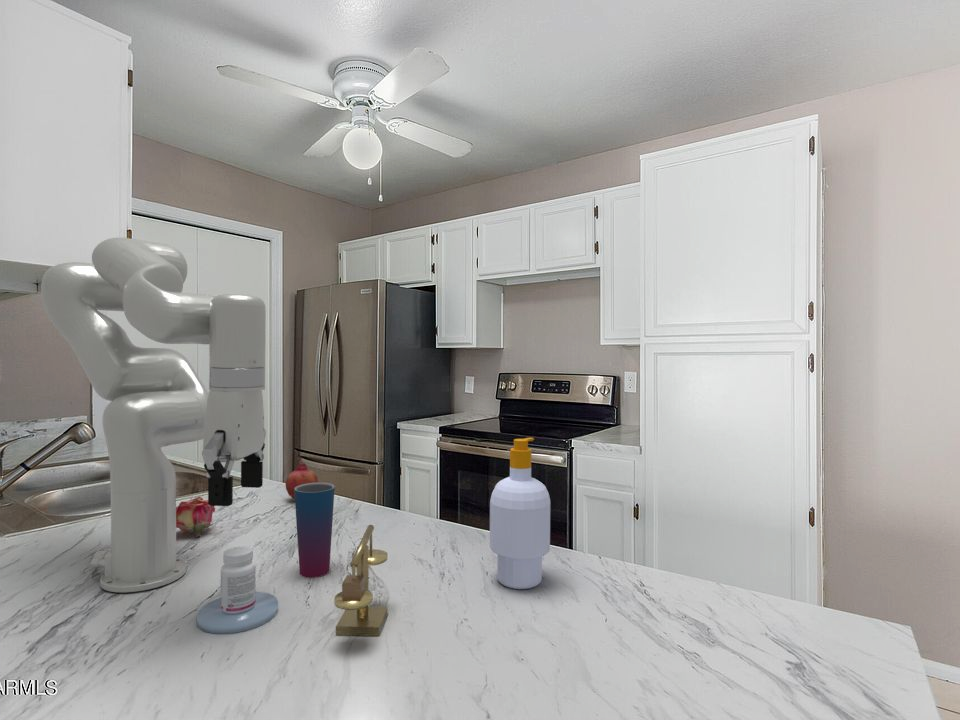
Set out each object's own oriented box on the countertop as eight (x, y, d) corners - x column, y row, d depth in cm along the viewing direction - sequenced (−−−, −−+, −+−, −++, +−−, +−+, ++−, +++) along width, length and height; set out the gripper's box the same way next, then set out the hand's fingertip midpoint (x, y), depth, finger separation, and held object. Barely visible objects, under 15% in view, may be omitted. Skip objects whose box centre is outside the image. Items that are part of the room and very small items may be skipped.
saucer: (181, 632, 77) (180, 625, 77) (220, 597, 88) (220, 590, 88) (259, 634, 77) (259, 627, 77) (289, 598, 88) (289, 592, 88)
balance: (325, 652, 72) (325, 554, 72) (355, 600, 87) (355, 518, 87) (371, 654, 72) (371, 555, 72) (393, 601, 87) (393, 519, 87)
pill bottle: (262, 603, 84) (262, 548, 83) (236, 617, 79) (236, 559, 79) (239, 597, 86) (239, 543, 85) (213, 610, 81) (213, 553, 81)
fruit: (279, 504, 139) (279, 464, 139) (295, 495, 147) (295, 458, 147) (309, 506, 138) (309, 466, 138) (323, 497, 146) (323, 459, 146)
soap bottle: (561, 580, 95) (563, 440, 95) (524, 600, 88) (525, 447, 87) (515, 564, 102) (516, 433, 102) (476, 581, 95) (477, 439, 94)
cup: (323, 581, 94) (323, 493, 94) (286, 577, 95) (286, 491, 95) (341, 565, 101) (341, 483, 100) (306, 562, 102) (306, 481, 102)
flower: (230, 526, 117) (223, 491, 120) (188, 529, 109) (182, 492, 113) (203, 546, 120) (197, 511, 124) (161, 550, 113) (155, 513, 116)
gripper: (239, 375, 90) (239, 480, 91) (178, 383, 73) (178, 512, 74) (285, 376, 90) (284, 481, 91) (234, 385, 73) (234, 514, 73)
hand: (237, 495), depth 82 cm, fingers open, 9 cm apart
